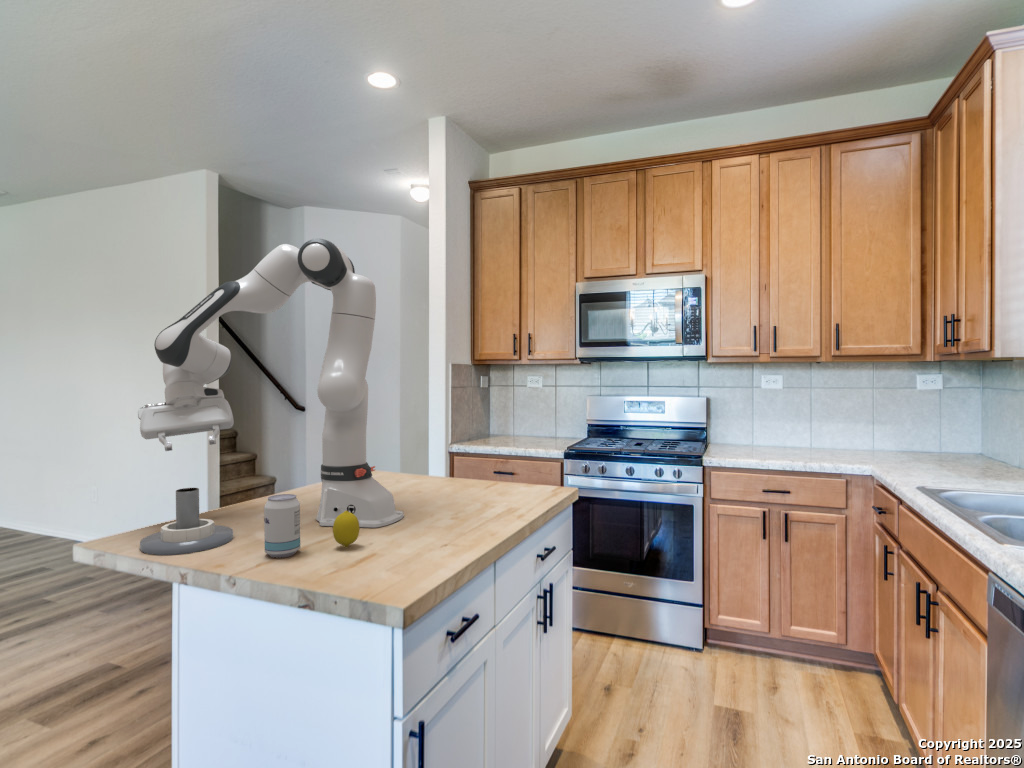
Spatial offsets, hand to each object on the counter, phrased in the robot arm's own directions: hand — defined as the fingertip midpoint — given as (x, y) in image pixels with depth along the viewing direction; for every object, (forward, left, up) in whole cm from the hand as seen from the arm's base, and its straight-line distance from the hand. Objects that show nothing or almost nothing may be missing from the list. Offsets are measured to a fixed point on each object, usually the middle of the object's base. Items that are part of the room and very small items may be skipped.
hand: (191, 446), depth 137 cm
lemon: (-45, +1, -20) cm, 50 cm away
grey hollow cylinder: (-9, +9, -19) cm, 23 cm away
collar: (-9, +9, -20) cm, 24 cm away
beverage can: (-35, +9, -20) cm, 42 cm away
